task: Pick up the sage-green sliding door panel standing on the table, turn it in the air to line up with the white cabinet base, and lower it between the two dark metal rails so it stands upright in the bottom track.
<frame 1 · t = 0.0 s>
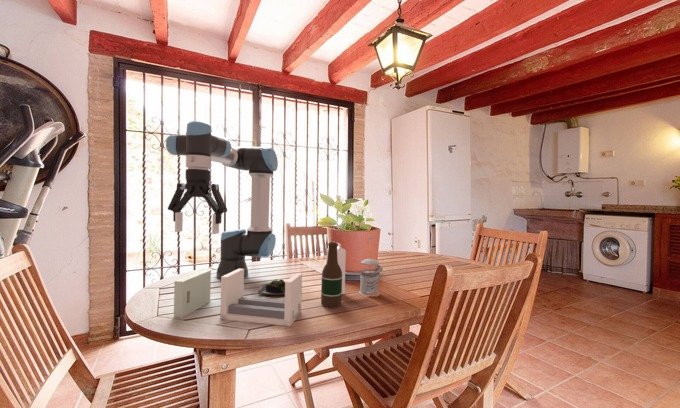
hand: (196, 232, 102), 28 cm above the table, tool pointing down, fingers open, 13 cm apart
french press: (370, 293, 133), on the table
beer bottle: (331, 305, 117), on the table
milk: (334, 293, 131), on the table
salad plate: (279, 292, 132), on the table
door panel: (193, 308, 109), on the table
cabinet base: (262, 315, 105), on the table
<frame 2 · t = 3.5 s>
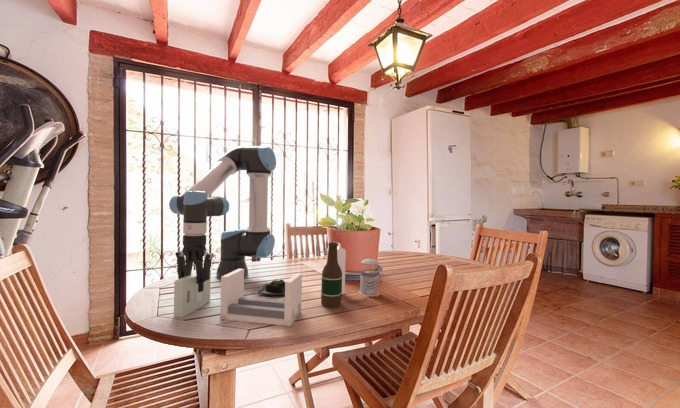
hand: (193, 299, 109), 3 cm above the table, tool pointing down, fingers closed on door panel, 3 cm apart
door panel: (193, 308, 109), on the table, touching gripper
everything else where it was.
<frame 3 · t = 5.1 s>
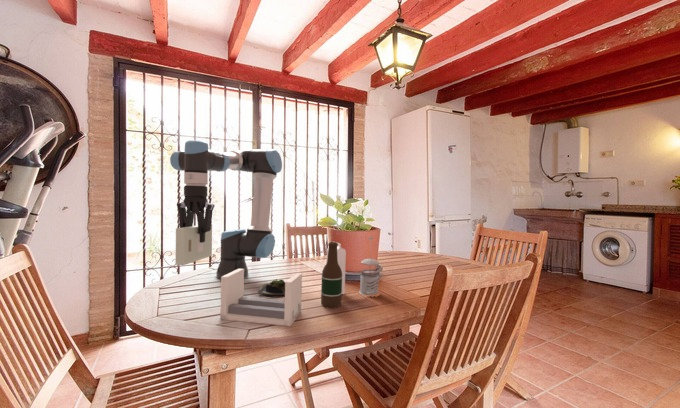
hand: (194, 251, 109), 21 cm above the table, tool pointing down, fingers closed on door panel, 3 cm apart
door panel: (194, 259, 109), point 17 cm above the table, touching gripper
everything else where it was.
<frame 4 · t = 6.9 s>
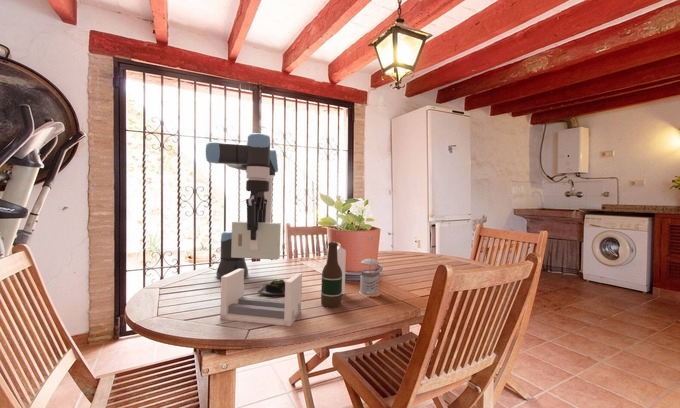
hand: (256, 248, 104), 23 cm above the table, tool pointing down, fingers closed on door panel, 3 cm apart
door panel: (255, 257, 104), point 20 cm above the table, touching gripper
everything else where it was.
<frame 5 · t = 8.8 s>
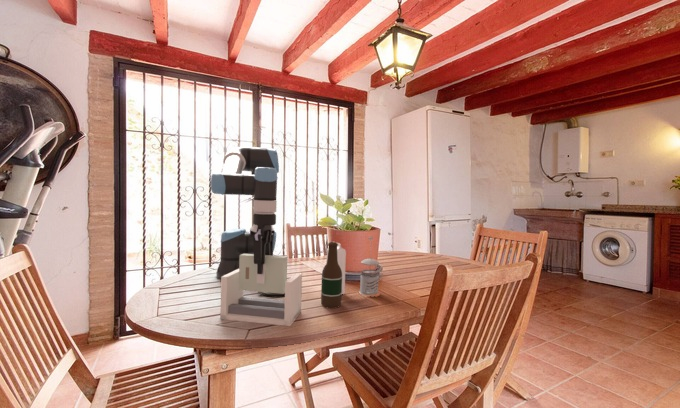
hand: (263, 281, 104), 12 cm above the table, tool pointing down, fingers closed on door panel, 3 cm apart
door panel: (262, 290, 105), point 9 cm above the table, touching gripper
everything else where it was.
when the fingers open (6 cm above the table, at t = 10.5 s): door panel drops 1 cm, resting on cabinet base.
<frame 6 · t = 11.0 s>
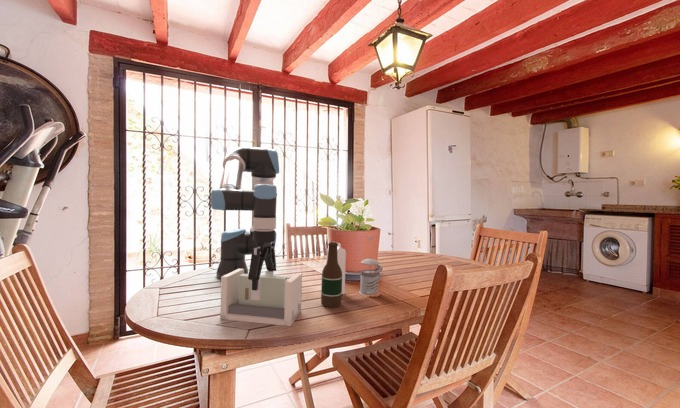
hand: (262, 294, 105), 7 cm above the table, tool pointing down, fingers open, 10 cm apart
door panel: (262, 311, 105), point 1 cm above the table, touching cabinet base
everything else where it was.
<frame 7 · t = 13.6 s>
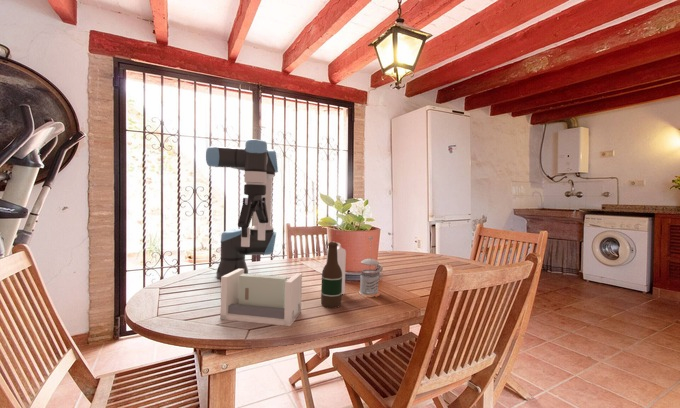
hand: (253, 243, 110), 24 cm above the table, tool pointing down, fingers open, 13 cm apart
nothing on the table moved.
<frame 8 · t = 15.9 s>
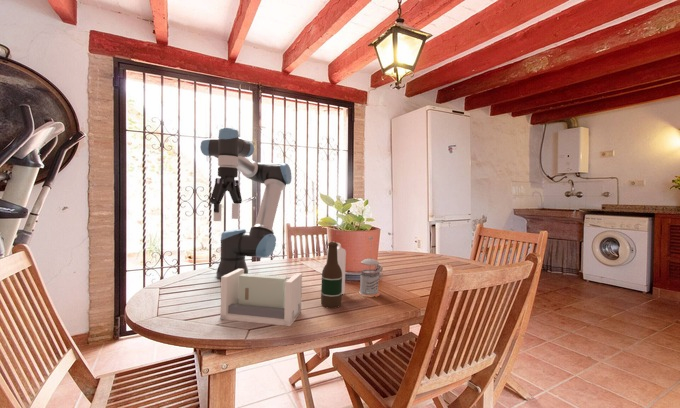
hand: (226, 219, 124), 31 cm above the table, tool pointing down, fingers open, 13 cm apart
nothing on the table moved.
at the end: door panel inside the target area on the cabinet base (0.1 cm from its centre), point 1.5 cm above the cabinet base's base; door panel tilted 0°; the gripper is holding nothing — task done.
